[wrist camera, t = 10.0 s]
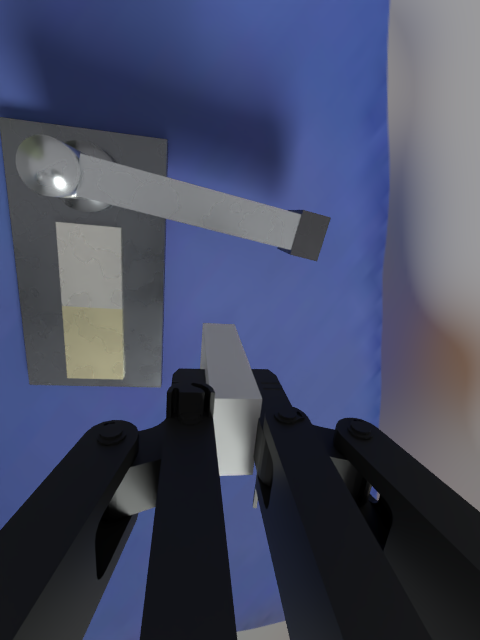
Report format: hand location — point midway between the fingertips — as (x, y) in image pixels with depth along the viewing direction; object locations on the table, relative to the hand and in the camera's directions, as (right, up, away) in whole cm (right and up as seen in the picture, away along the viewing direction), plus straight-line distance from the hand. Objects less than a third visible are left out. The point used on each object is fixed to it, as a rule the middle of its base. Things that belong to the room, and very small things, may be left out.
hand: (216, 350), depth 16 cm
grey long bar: (-3, +11, +10) cm, 15 cm away
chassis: (-12, +6, +13) cm, 19 cm away
